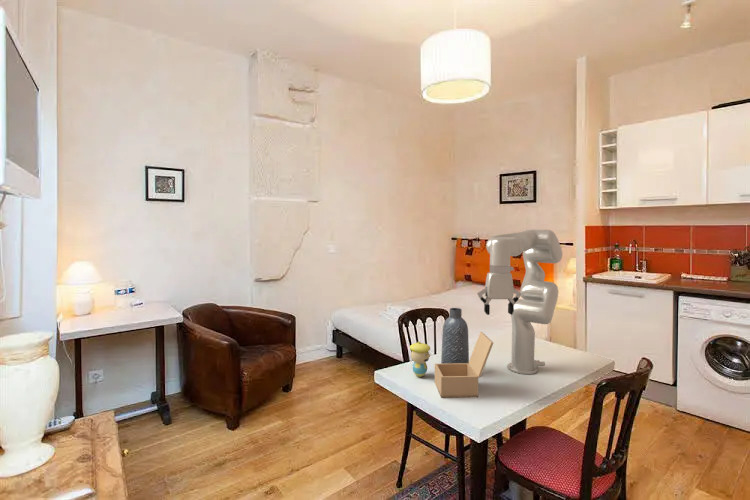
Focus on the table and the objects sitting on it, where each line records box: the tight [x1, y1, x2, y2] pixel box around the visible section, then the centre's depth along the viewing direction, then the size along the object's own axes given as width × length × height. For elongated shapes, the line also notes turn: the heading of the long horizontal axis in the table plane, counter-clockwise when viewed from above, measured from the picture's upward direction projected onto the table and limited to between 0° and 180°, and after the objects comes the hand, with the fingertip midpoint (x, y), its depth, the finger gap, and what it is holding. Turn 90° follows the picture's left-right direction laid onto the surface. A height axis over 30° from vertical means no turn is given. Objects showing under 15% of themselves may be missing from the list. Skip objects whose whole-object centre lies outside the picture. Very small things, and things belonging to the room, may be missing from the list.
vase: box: [440, 307, 470, 364], centre depth 172 cm, size 12×12×28 cm
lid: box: [469, 331, 494, 378], centre depth 154 cm, size 14×14×1 cm
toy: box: [409, 341, 431, 377], centre depth 168 cm, size 8×9×15 cm
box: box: [434, 363, 479, 399], centre depth 155 cm, size 14×14×8 cm
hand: (498, 313), depth 153 cm, fingers open, 8 cm apart
